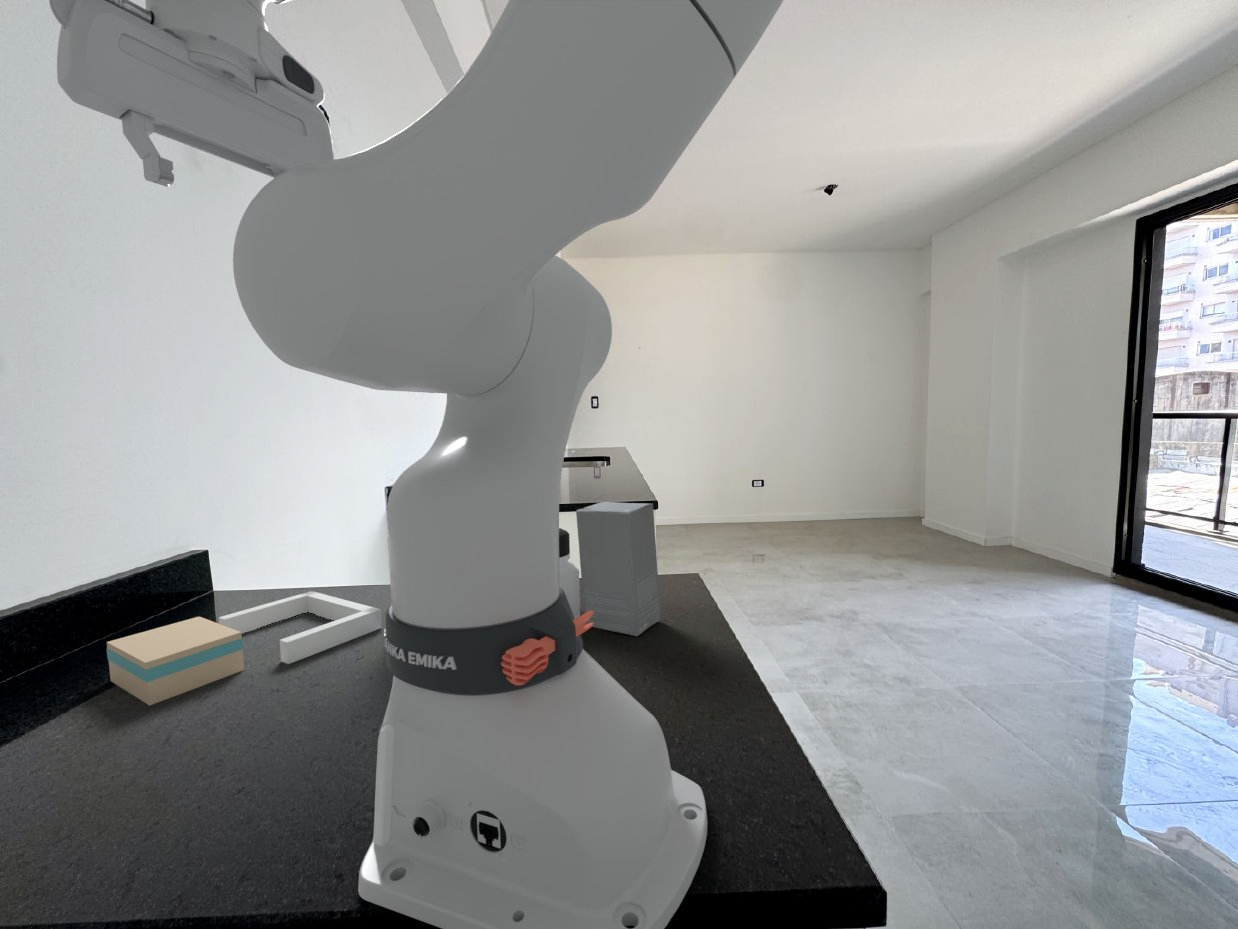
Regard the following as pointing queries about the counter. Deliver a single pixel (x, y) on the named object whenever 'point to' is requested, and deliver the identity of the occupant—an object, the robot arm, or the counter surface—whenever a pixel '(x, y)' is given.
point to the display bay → (345, 627)
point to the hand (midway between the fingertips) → (223, 202)
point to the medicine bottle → (568, 574)
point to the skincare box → (619, 566)
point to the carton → (174, 658)
